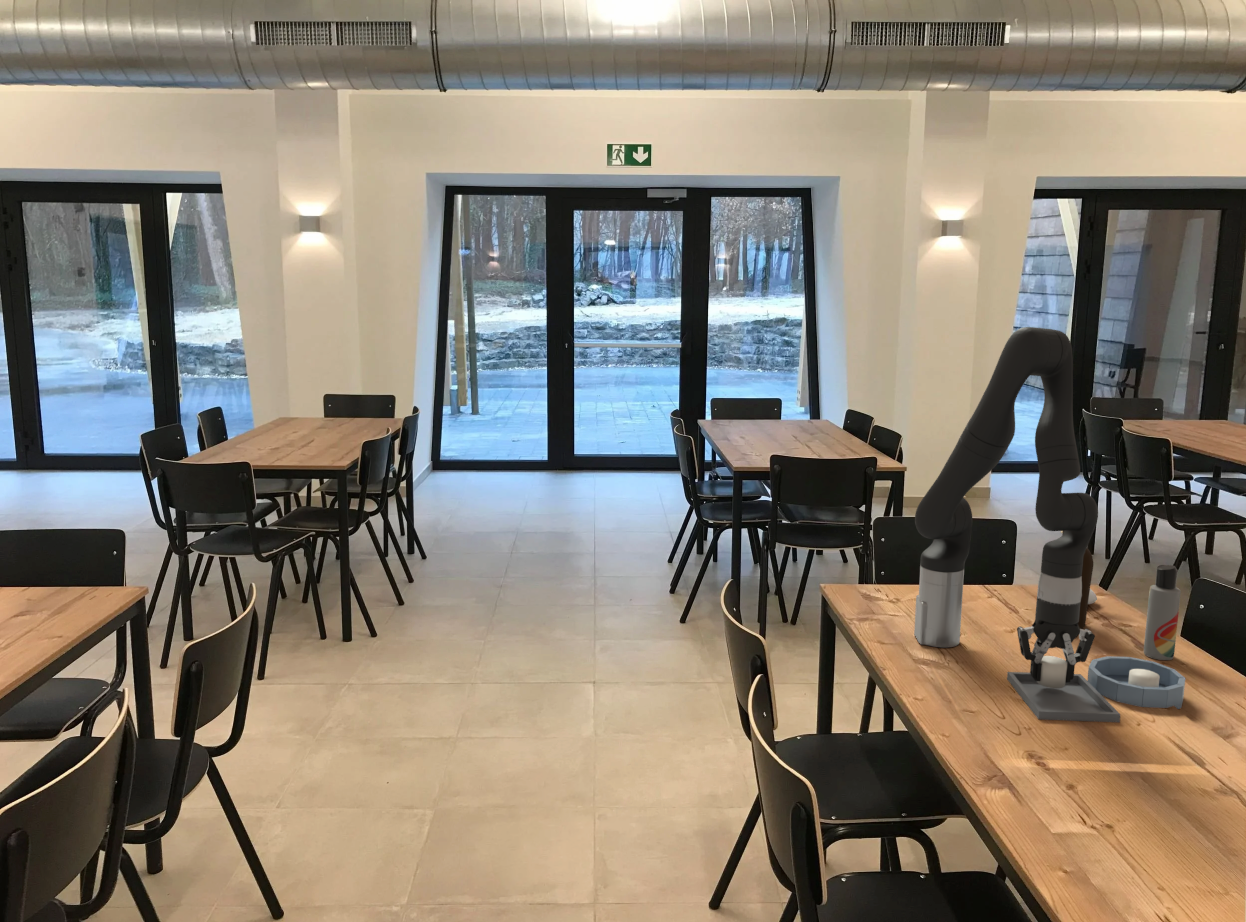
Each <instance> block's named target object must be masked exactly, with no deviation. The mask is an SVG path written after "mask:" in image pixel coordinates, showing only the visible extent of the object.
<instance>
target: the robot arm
mask: <svg viewBox="0 0 1246 922" xmlns="http://www.w3.org/2000/svg"><path fill="white" fill-rule="evenodd" d="M1073 357H1074V356H1073V348H1072V343H1071V341H1070V338H1069V337H1068V335H1067V334H1066V333H1064V332H1063V331H1061V330H1058V329H1054V328H1043V327H1035V326H1032V327H1030V326H1025V327H1021V328H1018V329H1017V330H1015V331H1014V332H1012V334H1011V335H1010V337H1009V338H1008V339H1007V341H1006V342H1005V345H1004V347H1003V349H1002V351H1001V353H1000V356H999V357H998V360H997V363H996V366H995V367H994V370H993V373H992V375H991V377H990V380H989V382H988V384H987V387H986V388H985V391H984V392H983V395H982V397H981V398H980V401H979V402H978V404H977V406H976V408H975V410H974V411H973V413H972V414H971V416H970V419H969V421H967V423H966V425H965V428H963V431H962V433H961V435H960V436H959V438H958V440H957V443H956V445H955V446H954V448H953V450H952V451H951V454H950V455H949V457H948V459H947V460H946V463H945V464H944V466H943V468H942V470H941V471H940V473H939V475H938V476H937V477H936V479H935V481H934V482H933V484H932V485H931V486H930V487H929V489H928V491H927V492H926V493H925V495H924V496H923V498H922V499H921V500H920V502H919V504H918V505H917V506H916V507H917V508H916V510H915V515H914V524H915V527H916V530H917V532H918V533H919V534H920V535H921V536H922V537H923V538H926V539H929V540H932V543H931V544H930V545H929V546H928V547H927V548H926V549H925V550H923V551H922V553H921V554H920V562H919V563H920V564H919V565H920V566H919V585H918V586H919V587H918V594H917V595H916V597H915V614H914V616H915V617H914V629H913V630H914V634H913V635H914V637H915V636H916V637H915V639H916V638H917V639H916V640H917V642H918V643H920V645H926V646H929V647H936V648H952V647H953V648H954V647H956V646H958V645H959V644H960V641H961V626H962V625H961V624H962V609H963V594H964V593H963V592H964V575H965V563H966V561H967V559H968V556H969V554H970V549H971V539H972V531H973V512H972V509H971V506H970V503H969V501H967V499H966V498H965V496H966V494H968V492H969V491H970V490H971V489H972V488H974V486H976V485H977V484H978V483H979V482H981V480H983V479H984V478H985V477H986V476H987V475H988V474H989V473H990V472H991V471H992V470H993V469H994V468H995V467H996V466H997V465H998V464H999V462H1000V461H1001V460H1002V458H1003V457H1004V456H1005V453H1006V452H1007V450H1008V448H1009V446H1010V444H1012V441H1013V438H1014V437H1015V432H1016V416H1015V415H1016V414H1015V405H1016V401H1017V397H1018V396H1019V394H1020V391H1021V390H1022V387H1023V386H1024V384H1025V382H1026V381H1027V380H1028V378H1029V377H1030V376H1031V377H1032V376H1035V377H1040V379H1041V382H1042V386H1043V393H1044V394H1043V395H1044V399H1043V401H1044V402H1043V407H1042V411H1041V413H1040V417H1039V420H1038V422H1037V426H1036V429H1035V432H1034V433H1035V435H1034V446H1035V454H1036V458H1037V459H1036V460H1037V466H1038V471H1039V475H1038V483H1037V493H1036V500H1035V508H1034V509H1035V516H1036V519H1037V522H1038V523H1039V524H1040V526H1041V527H1042V528H1043V529H1045V530H1046V531H1050V532H1061V531H1064V533H1063V535H1061V536H1059V537H1058V538H1057V539H1052V540H1050V541H1048V542H1046V543H1045V544H1044V545H1043V548H1042V553H1041V565H1040V566H1041V567H1040V572H1039V578H1038V583H1037V594H1036V605H1035V615H1034V616H1035V618H1034V621H1033V623H1032V624H1031V626H1027V627H1024V626H1017V628H1016V632H1017V637H1018V643H1019V648H1020V649H1019V651H1020V653H1021V655H1022V656H1023V657H1024V659H1025V660H1026V661H1030V670H1029V673H1030V674H1031V676H1032V677H1033V678H1034V680H1035V681H1040V677H1041V667H1042V664H1041V663H1040V662H1041V660H1042V658H1043V656H1045V654H1046V655H1047V653H1048V651H1049V649H1056V648H1057V649H1061V650H1062V652H1063V653H1062V654H1063V656H1064V660H1065V661H1067V672H1066V682H1068V683H1070V680H1072V679H1073V678H1074V674H1075V669H1076V667H1075V666H1076V664H1077V663H1080V662H1081V663H1085V662H1086V661H1087V658H1088V656H1089V653H1090V651H1091V648H1092V645H1093V643H1094V640H1095V637H1096V636H1095V634H1094V633H1093V632H1092V631H1091V630H1090V629H1089V628H1085V629H1084V628H1083V629H1080V628H1079V626H1078V622H1079V613H1080V603H1081V597H1082V567H1083V556H1084V553H1085V551H1086V548H1088V546H1089V544H1090V541H1091V538H1092V536H1093V533H1094V532H1095V529H1096V527H1097V523H1098V519H1099V507H1098V505H1097V502H1096V501H1095V499H1094V497H1093V496H1091V494H1088V493H1086V492H1063V493H1062V490H1063V484H1064V482H1068V481H1072V480H1075V479H1076V478H1079V476H1080V473H1081V465H1080V459H1079V453H1078V447H1077V442H1076V436H1075V429H1074V428H1075V427H1074V416H1073V415H1074V414H1073V413H1074V411H1073V406H1074V404H1073V402H1074V401H1073V399H1074V396H1073V394H1074V392H1073V391H1074V390H1073V389H1074V387H1073V384H1074V383H1073V382H1074V380H1073V379H1074V377H1073V375H1074V374H1073V373H1074V371H1073V370H1074V360H1073V359H1074V358H1073ZM1033 634H1034V635H1035V636H1036V637H1037V638H1036V640H1035V642H1034V644H1033V645H1034V646H1033V649H1032V650H1031V646H1030V641H1029V640H1030V639H1032V635H1033ZM1077 637H1078V639H1079V642H1078V645H1077V647H1076V650H1074V647H1073V644H1072V642H1074V640H1075V639H1077Z"/></svg>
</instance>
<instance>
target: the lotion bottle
mask: <svg viewBox="0 0 1246 922" xmlns="http://www.w3.org/2000/svg"><path fill="white" fill-rule="evenodd" d="M1155 573H1156V574H1155V584H1152V585H1150V586H1149V593H1148V599H1147V600H1148V601H1147V602H1148V603H1147V611H1146V612H1147V613H1146V620H1145V621H1146V623H1145V630H1144V631H1145V632H1144V644H1143V654H1144V655H1145V656H1146V657H1148V658H1151V659H1154V660H1159V661H1172V660H1173V659H1174V657H1175V651H1176V642H1177V631H1178V623H1179V622H1178V621H1179V613H1180V611H1179V610H1180V603H1181V593H1182V592H1181V589H1179V588H1178V587H1177V579H1178V569H1177V566H1175V565H1171V564H1160V565H1158V566H1156V572H1155Z"/></svg>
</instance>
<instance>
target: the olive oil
mask: <svg viewBox="0 0 1246 922" xmlns="http://www.w3.org/2000/svg"><path fill="white" fill-rule="evenodd" d="M1063 533H1064V531H1063ZM1063 533H1061V534H1062V535H1063ZM1062 535H1061V536H1062ZM1093 570H1094V558H1093V554H1092V553H1091V551H1090V549H1089V548H1088V547H1087V548H1086V551H1085V553H1084V556H1083V567H1082V597H1081V603H1080V613H1079V622H1078V626H1079V628H1080V629H1083V630H1084V628H1086V623H1087V614H1088V606H1089V604H1088V599H1089V592H1090V589H1091V584H1092V577H1093Z"/></svg>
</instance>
